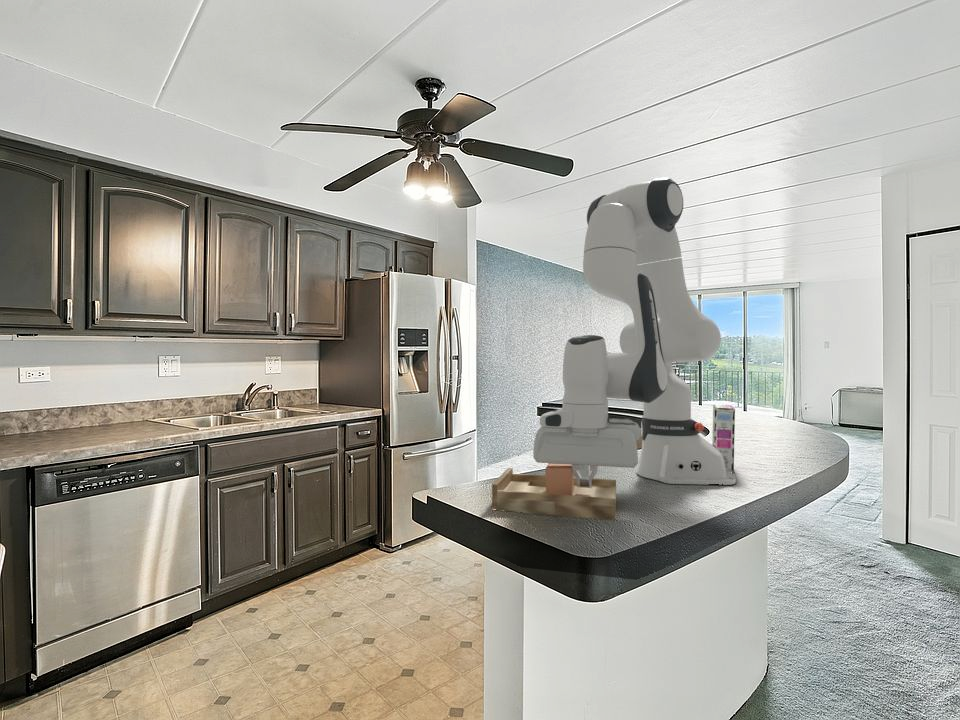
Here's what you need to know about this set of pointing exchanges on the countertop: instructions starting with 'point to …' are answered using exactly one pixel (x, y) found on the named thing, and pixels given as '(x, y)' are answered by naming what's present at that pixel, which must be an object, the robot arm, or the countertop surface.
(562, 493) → the block
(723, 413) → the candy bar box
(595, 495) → the wooden tray
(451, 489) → the countertop surface
